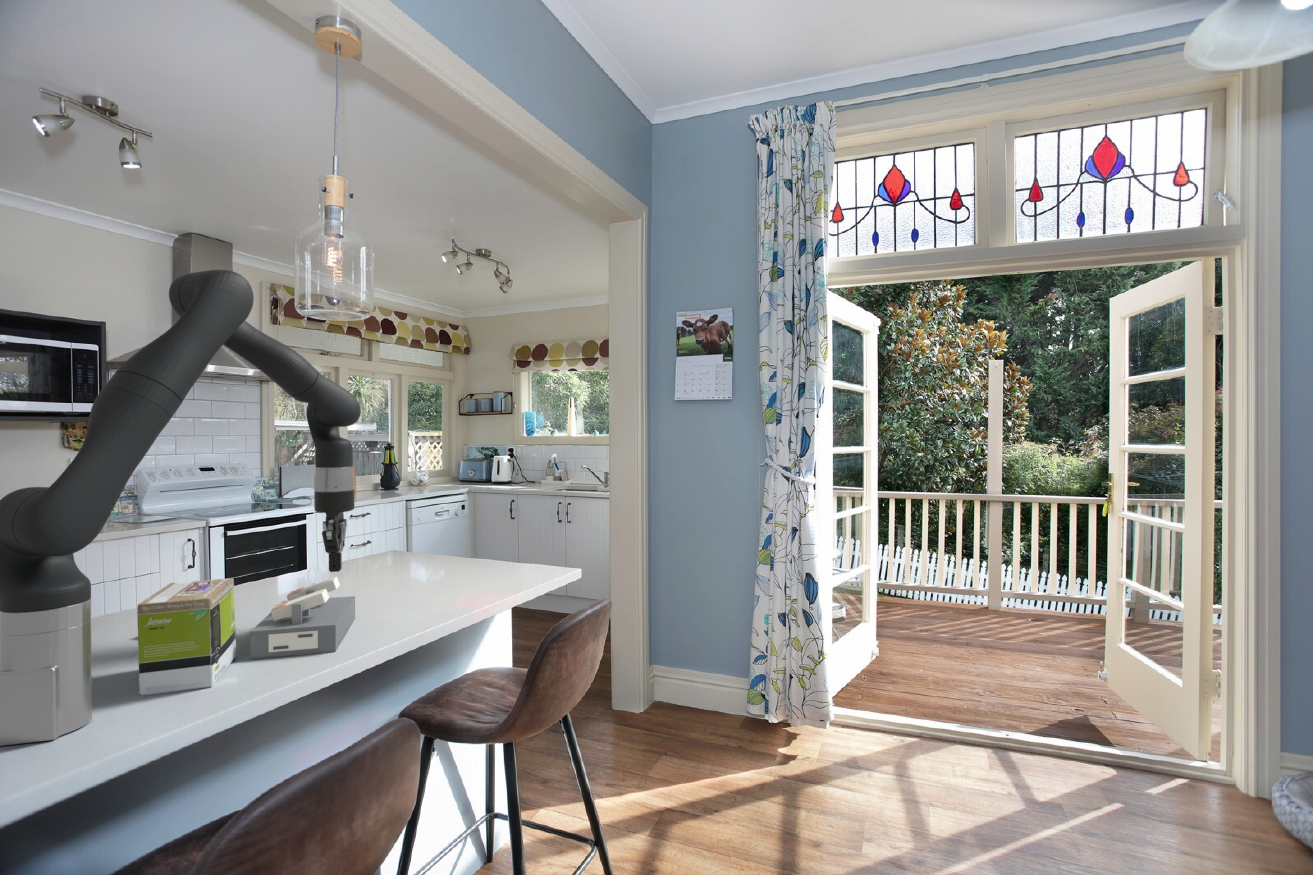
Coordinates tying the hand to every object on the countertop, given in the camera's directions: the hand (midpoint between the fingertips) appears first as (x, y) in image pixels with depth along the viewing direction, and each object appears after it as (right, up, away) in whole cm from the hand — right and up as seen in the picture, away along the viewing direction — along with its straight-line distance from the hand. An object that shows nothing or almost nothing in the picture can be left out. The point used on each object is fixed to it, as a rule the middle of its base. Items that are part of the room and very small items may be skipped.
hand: (335, 570), depth 134 cm
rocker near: (-1, -4, -12) cm, 12 cm away
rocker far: (-4, -4, -1) cm, 6 cm away
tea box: (-11, -12, -27) cm, 31 cm away
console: (-2, -12, -6) cm, 14 cm away
